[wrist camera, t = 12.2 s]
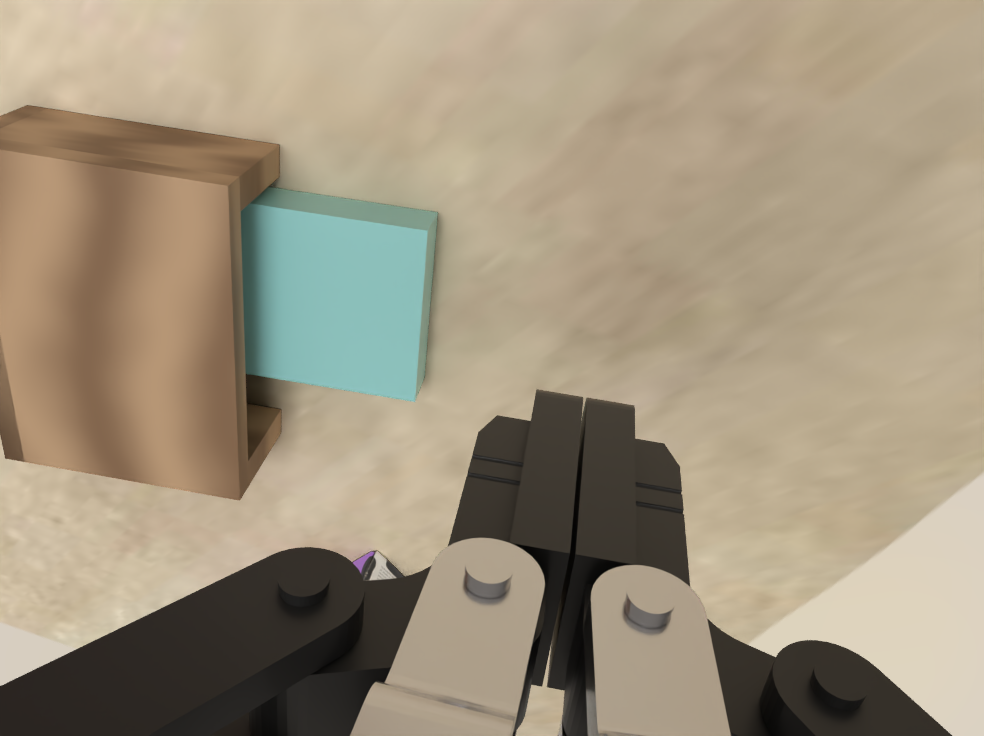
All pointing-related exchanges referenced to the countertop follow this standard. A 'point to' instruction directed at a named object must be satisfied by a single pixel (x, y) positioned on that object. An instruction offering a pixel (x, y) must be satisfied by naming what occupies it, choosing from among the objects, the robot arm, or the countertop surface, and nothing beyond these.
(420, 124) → the countertop surface
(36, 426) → the wood block
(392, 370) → the thin teal board
